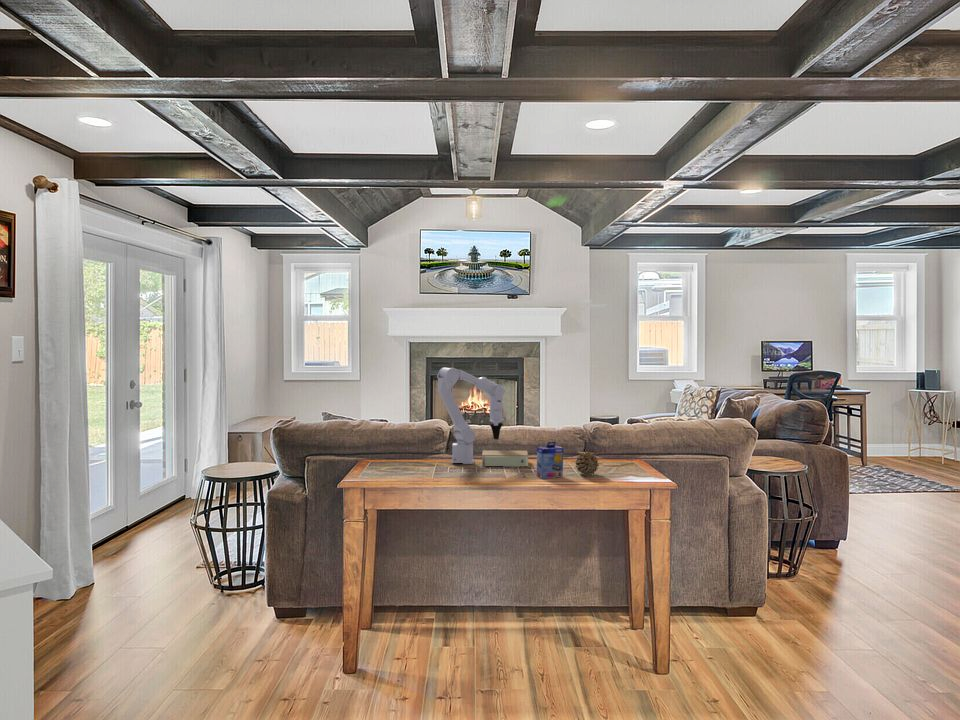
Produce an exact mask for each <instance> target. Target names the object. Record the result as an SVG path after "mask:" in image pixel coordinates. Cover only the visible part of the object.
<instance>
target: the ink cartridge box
mask: <svg viewBox="0 0 960 720" xmlns="http://www.w3.org/2000/svg"><path fill="white" fill-rule="evenodd" d="M563 474H564V447H562V446H560V445H556V441H549V442H547V443H546V446H545V445H544V446H543V445H542V446H537V447H536V477H538V478H539V479H542V480H544V479H557V478H556V477H559V478H563V476H564V475H563Z"/></svg>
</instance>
